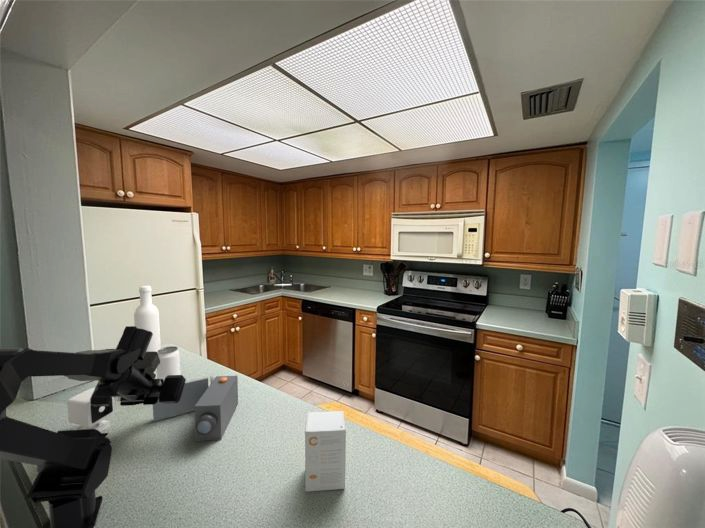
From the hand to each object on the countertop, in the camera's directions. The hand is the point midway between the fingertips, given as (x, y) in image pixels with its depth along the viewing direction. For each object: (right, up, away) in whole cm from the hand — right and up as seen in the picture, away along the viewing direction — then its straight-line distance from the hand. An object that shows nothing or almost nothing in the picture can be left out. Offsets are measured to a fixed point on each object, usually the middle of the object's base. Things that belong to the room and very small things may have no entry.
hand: (153, 399), depth 75 cm
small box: (+47, -10, -15) cm, 50 cm away
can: (-9, -5, +20) cm, 22 cm away
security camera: (-13, -7, -3) cm, 15 cm away
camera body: (+16, -7, +1) cm, 17 cm away
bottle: (-26, -2, +35) cm, 43 cm away
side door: (+5, -6, +5) cm, 9 cm away
